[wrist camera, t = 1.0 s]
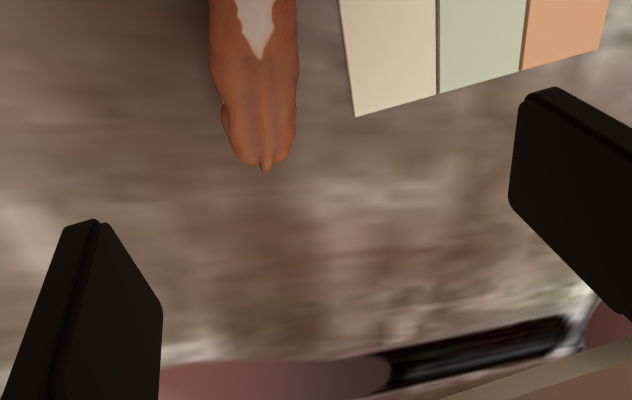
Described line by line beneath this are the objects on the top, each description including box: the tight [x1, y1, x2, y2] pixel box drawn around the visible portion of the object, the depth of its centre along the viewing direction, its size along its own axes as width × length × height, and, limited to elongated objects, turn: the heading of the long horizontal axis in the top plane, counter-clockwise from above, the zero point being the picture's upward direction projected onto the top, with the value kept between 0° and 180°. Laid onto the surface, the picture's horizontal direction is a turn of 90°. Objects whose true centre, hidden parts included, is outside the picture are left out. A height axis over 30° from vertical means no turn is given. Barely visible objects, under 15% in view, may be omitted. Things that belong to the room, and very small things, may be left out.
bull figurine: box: [208, 0, 299, 173], centre depth 21 cm, size 4×13×8 cm, turn 173°
